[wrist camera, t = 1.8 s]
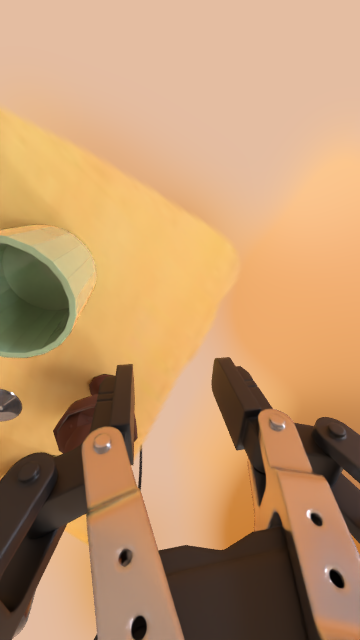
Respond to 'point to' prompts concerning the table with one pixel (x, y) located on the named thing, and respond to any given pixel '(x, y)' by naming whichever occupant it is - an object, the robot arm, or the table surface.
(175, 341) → the table surface
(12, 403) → the wine glass
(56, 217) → the table surface
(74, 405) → the ice cream bowl
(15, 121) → the table surface
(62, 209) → the table surface
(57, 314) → the tumbler
